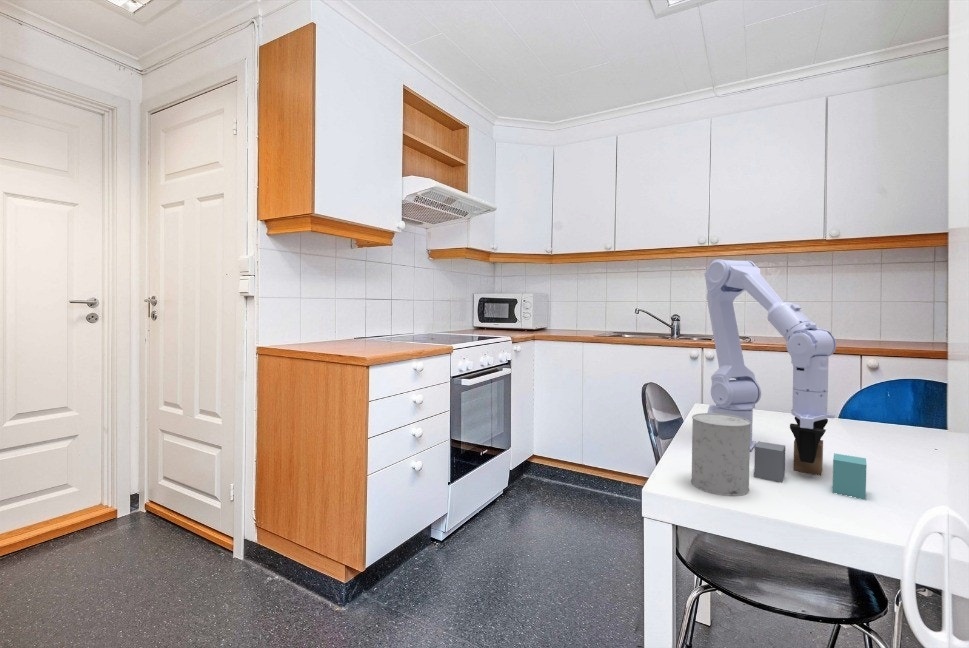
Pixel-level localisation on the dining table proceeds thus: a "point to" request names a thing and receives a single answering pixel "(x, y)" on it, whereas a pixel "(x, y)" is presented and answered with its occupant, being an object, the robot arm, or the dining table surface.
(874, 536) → the dining table surface
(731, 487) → the grey concrete cylinder
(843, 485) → the teal block
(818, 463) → the walnut block
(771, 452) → the charcoal block
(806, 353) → the robot arm
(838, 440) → the dining table surface
